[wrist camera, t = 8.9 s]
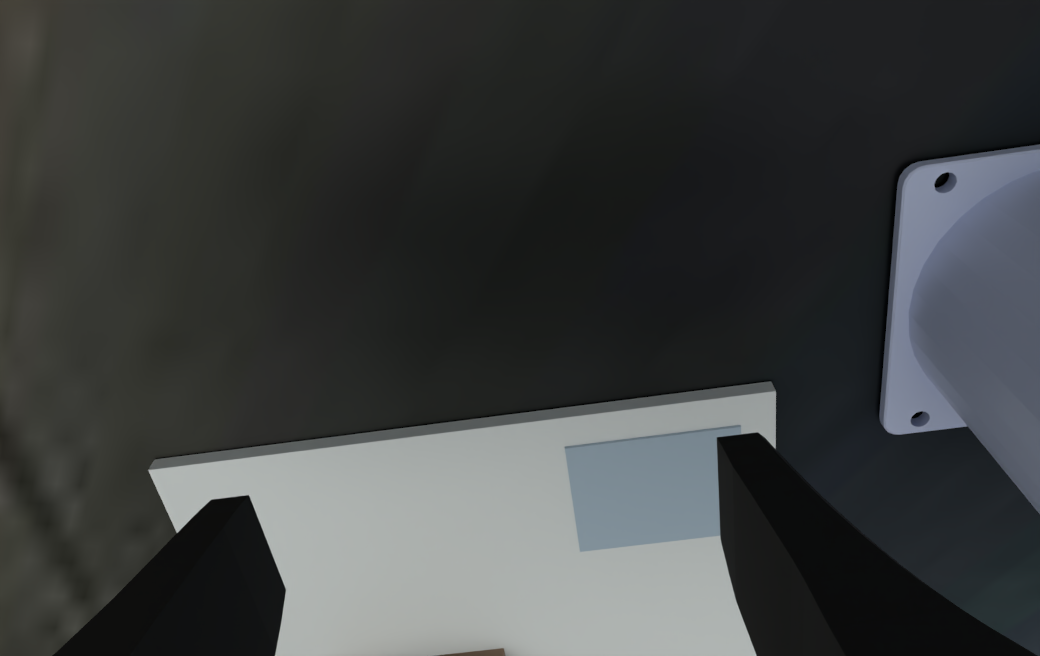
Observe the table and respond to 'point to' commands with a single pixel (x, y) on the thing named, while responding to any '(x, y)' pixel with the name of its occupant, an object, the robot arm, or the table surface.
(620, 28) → the table surface
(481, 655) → the walnut block
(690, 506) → the board
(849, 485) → the table surface
